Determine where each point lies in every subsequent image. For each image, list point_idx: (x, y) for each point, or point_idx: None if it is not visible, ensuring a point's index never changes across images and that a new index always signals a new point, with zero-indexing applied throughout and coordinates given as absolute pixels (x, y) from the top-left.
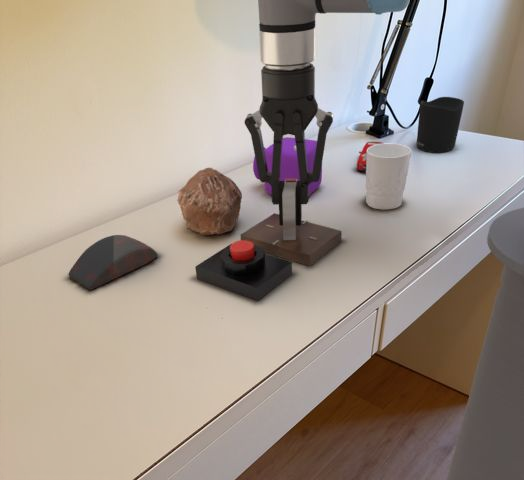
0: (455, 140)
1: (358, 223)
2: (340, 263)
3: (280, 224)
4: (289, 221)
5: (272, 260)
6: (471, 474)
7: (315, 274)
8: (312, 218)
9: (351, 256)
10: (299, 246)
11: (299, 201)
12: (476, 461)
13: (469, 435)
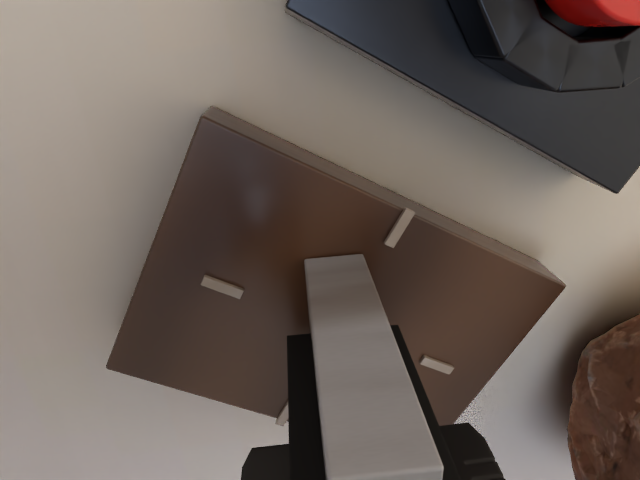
0: None
1: (95, 461)
2: (70, 151)
3: (394, 328)
4: (345, 313)
5: (402, 16)
6: None
7: (165, 24)
8: None
9: (39, 220)
10: (275, 203)
11: (297, 451)
12: None
13: None
